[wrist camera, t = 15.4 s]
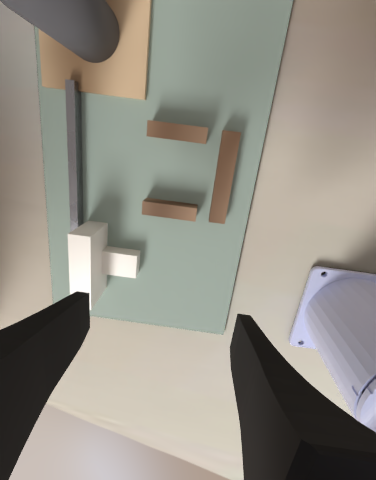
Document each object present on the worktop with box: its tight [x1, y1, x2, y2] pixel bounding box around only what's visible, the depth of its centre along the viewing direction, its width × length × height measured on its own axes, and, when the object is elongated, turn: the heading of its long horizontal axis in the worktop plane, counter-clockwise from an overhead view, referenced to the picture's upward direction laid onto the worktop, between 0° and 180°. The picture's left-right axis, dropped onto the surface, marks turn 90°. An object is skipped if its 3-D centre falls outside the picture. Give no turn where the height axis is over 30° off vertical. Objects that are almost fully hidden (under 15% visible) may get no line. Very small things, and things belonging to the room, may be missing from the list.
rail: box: [65, 79, 83, 232], centre depth 20 cm, size 1×16×1 cm, turn 173°
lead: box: [0, 0, 120, 63], centre depth 13 cm, size 3×3×7 cm
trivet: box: [39, 0, 152, 100], centre depth 17 cm, size 7×7×1 cm
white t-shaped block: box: [68, 221, 140, 310], centre depth 21 cm, size 4×6×3 cm
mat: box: [34, 0, 293, 335], centre depth 20 cm, size 16×26×1 cm, turn 173°
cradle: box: [142, 120, 241, 224], centre depth 19 cm, size 6×6×1 cm
